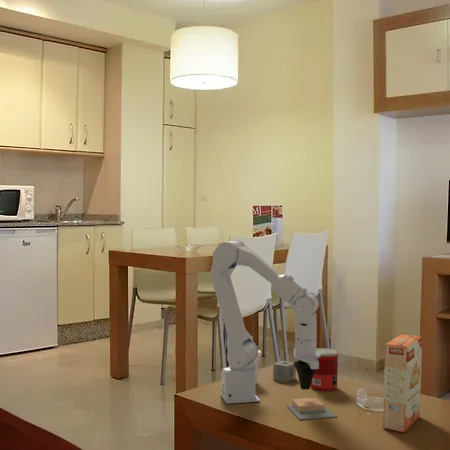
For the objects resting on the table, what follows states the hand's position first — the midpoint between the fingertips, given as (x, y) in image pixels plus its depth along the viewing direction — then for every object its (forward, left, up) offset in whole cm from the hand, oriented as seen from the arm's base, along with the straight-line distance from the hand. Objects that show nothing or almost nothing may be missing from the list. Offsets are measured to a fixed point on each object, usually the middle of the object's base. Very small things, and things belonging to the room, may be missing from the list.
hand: (305, 388), depth 161 cm
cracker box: (+20, -16, -5) cm, 26 cm away
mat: (0, -5, -5) cm, 7 cm away
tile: (0, -2, -4) cm, 4 cm away
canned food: (+11, +15, -5) cm, 19 cm away
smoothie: (-9, +24, -5) cm, 26 cm away
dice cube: (+2, +25, -5) cm, 26 cm away
